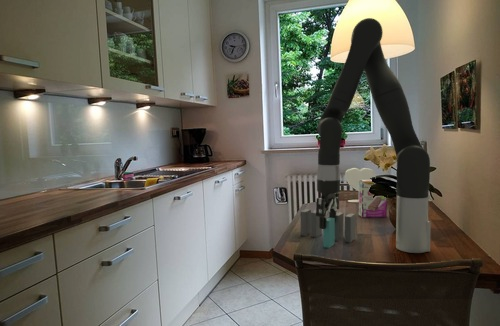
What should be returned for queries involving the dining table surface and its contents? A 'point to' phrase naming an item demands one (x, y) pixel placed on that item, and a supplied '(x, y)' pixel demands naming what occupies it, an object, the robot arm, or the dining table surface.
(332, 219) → the domino
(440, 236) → the dining table surface
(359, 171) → the heart sculpture
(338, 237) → the domino
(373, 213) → the candy bar box
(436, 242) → the dining table surface
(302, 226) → the domino
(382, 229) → the dining table surface
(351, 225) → the domino
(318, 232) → the domino
